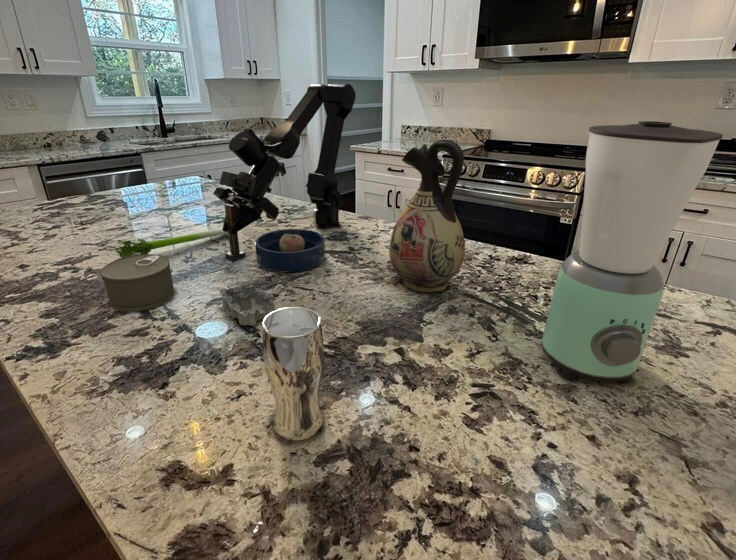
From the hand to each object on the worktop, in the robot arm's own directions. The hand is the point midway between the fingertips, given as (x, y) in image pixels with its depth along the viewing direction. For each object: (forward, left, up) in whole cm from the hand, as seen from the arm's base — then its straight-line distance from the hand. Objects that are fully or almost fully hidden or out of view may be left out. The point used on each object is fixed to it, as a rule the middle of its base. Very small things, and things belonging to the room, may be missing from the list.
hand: (227, 232), depth 98 cm
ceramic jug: (-40, +25, -7) cm, 48 cm away
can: (+17, +16, -7) cm, 24 cm away
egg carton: (-3, +27, -7) cm, 28 cm away
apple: (-14, +4, -6) cm, 16 cm away
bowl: (-14, +4, -7) cm, 16 cm away
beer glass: (-8, +57, -7) cm, 58 cm away
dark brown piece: (-1, -1, -7) cm, 7 cm away
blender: (-53, +55, -7) cm, 77 cm away
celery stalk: (+13, -10, -7) cm, 18 cm away
